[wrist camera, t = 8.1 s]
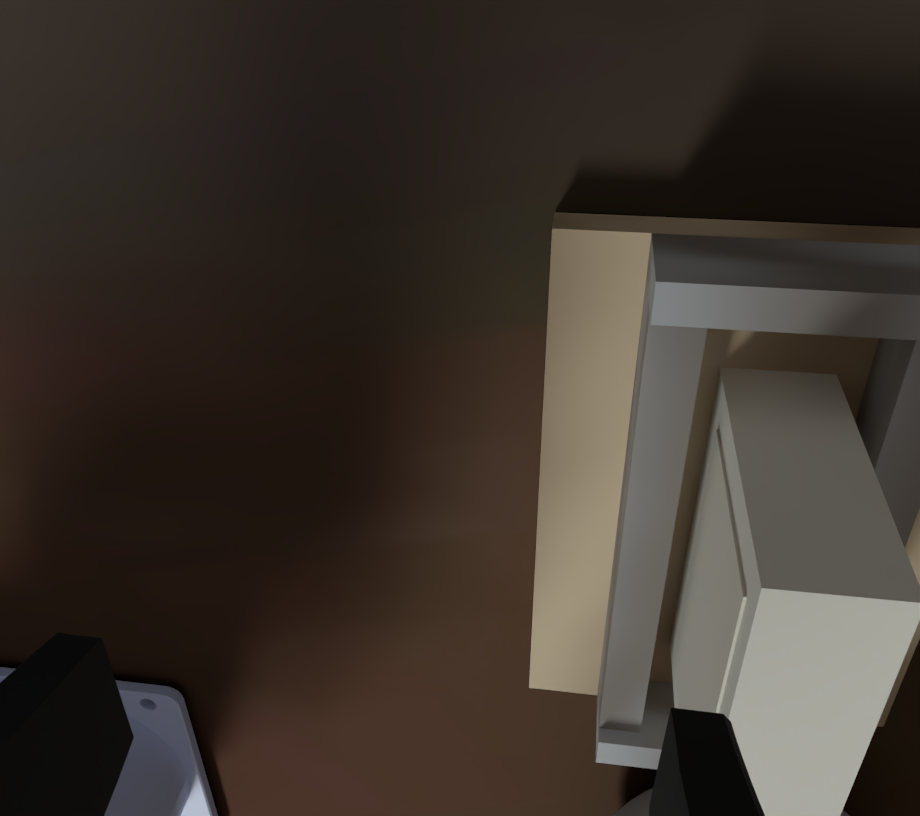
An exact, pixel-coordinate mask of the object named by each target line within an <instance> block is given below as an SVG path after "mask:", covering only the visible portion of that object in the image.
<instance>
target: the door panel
mask: <svg viewBox="0 0 920 816" xmlns="http://www.w3.org/2000/svg"><path fill="white" fill-rule="evenodd" d="M919 620H920V586H919V583H918V581H917V578H916V576H915V573H914V571H913V568H912V566H911V563H910V560H909V558H908V555H907V553H906V550H905V548H904V545H903V543H902V540H901V537H900V535H899V532H898V530H897V527H896V525H895V522H894V520H893V517H892V514H891V512H890V509H889V507H888V504H887V502H886V499H885V497H884V494H883V491H882V489H881V486H880V484H879V481H878V479H877V476H876V474H875V471H874V468H873V466H872V463H871V461H870V458H869V456H868V453H867V451H866V448H865V445H864V443H863V440H862V438H861V435H860V433H859V430H858V428H857V425H856V423H855V420H854V417H853V415H852V412H851V410H850V407H849V405H848V402H847V400H846V397H845V394H844V392H843V389H842V387H841V384H840V382H839V379H838V377H837V374H821V373H805V372H790V371H774V370H758V369H742V368H727V367H720V369H719V375H718V381H717V386H716V392H715V397H714V403H713V408H712V414H711V419H710V425H709V430H708V436H707V442H706V447H705V453H704V458H703V464H702V469H701V475H700V480H699V486H698V491H697V497H696V503H695V508H694V514H693V519H692V525H691V530H690V536H689V541H688V547H687V552H686V558H685V564H684V569H683V575H682V580H681V586H680V591H679V597H678V602H677V608H676V613H675V619H674V625H673V630H672V636H671V641H670V648H671V663H672V678H673V693H674V708H679V709H687V710H696V711H704V712H712V713H720V714H724V715H725V716H726V717H727V718H728V719H729V720H730V721H731V724H732V727H733V730H734V733H735V737H736V740H737V743H738V746H739V748H740V751H741V754H742V757H743V760H744V763H745V766H746V768H747V771H748V774H749V776H750V779H751V782H752V784H753V787H754V790H755V792H756V795H757V797H758V800H759V802H760V805H761V807H762V810H763V812H764V815H765V816H840V815H841V813H842V810H843V808H844V805H845V803H846V800H847V798H848V796H849V793H850V791H851V788H852V786H853V783H854V781H855V778H856V776H857V773H858V771H859V768H860V766H861V763H862V761H863V759H864V756H865V754H866V751H867V749H868V746H869V744H870V741H871V739H872V736H873V734H874V731H875V729H876V727H877V724H878V722H879V719H880V717H881V714H882V712H883V709H884V707H885V704H886V702H887V699H888V697H889V694H890V692H891V690H892V687H893V685H894V682H895V680H896V677H897V675H898V672H899V670H900V667H901V665H902V662H903V660H904V657H905V655H906V653H907V650H908V648H909V645H910V643H911V640H912V638H913V635H914V633H915V630H916V628H917V625H918V623H919Z"/></svg>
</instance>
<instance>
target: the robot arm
mask: <svg viewBox="0 0 920 816" xmlns="http://www.w3.org/2000/svg"><path fill="white" fill-rule="evenodd" d="M0 816H218V814H217V811H216V807H215V804H214V800H213V797H212V794H211V790H210V787H209V783H208V780H207V776H206V773H205V769H204V766H203V763H202V759H201V756H200V752H199V749H198V745H197V742H196V738H195V735H194V732H193V728H192V725H191V721H190V718H189V714H188V711H187V708H186V704H185V701H184V698H183V696H182V694H181V693H180V692H179V691H178V690H176V689H174V688H172V687H168V686H162V685H153V684H145V683H136V682H127V681H119V680H115V678H114V675H113V672H112V669H111V665H110V662H109V659H108V656H107V653H106V650H105V647H104V644H103V641H102V638H94V637H85V636H77V635H69V634H61V633H57V634H56V635H55V636H54V637H52V638H51V639H50V640H49V641H48V642H46V643H45V644H44V645H43V646H42V647H41V648H39V649H38V650H37V651H36V652H35V653H33V654H32V655H31V656H30V657H29V658H28V659H27V660H25V661H24V662H23V663H22V664H21V665H20V666H19V667H17V668H7V667H0ZM649 816H765V815H764V812H763V810H762V807H761V805H760V802H759V800H758V797H757V795H756V792H755V790H754V787H753V784H752V782H751V779H750V776H749V774H748V771H747V768H746V766H745V763H744V760H743V757H742V754H741V751H740V748H739V746H738V743H737V740H736V737H735V733H734V730H733V727H732V724H731V721H730V720H729V719H728V718H727V717H726V716H725V715H724V714H720V713H712V712H704V711H696V710H687V709H679V708H671V709H670V714H669V718H668V723H667V727H666V732H665V736H664V741H663V745H662V750H661V755H660V759H659V764H658V768H657V773H656V777H655V782H654V786H653V791H652V795H651V800H650V804H649Z"/></svg>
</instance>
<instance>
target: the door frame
mask: <svg viewBox="0 0 920 816" xmlns="http://www.w3.org/2000/svg"><path fill="white" fill-rule="evenodd" d="M720 367H727V368H742V369H758V370H774V371H790V372H805V373H821V374H837V377H838V379H839V382H840V384H841V387H842V389H843V392H844V394H845V397H846V400H847V402H848V405H849V407H850V410H851V412H852V415H853V417H854V420H855V423H856V425H857V428H858V430H859V433H860V435H861V438H862V440H863V443H864V445H865V448H866V451H867V453H868V456H869V458H870V461H871V463H872V466H873V468H874V471H875V474H876V476H877V479H878V481H879V484H880V486H881V489H882V491H883V494H884V497H885V499H886V502H887V504H888V507H889V509H890V512H891V514H892V517H893V520H894V522H895V525H896V527H897V530H898V532H899V535H900V537H901V540H902V543H903V545H904V548H905V550H906V553H907V555H908V558H909V560H910V563H911V566H912V568H913V571H914V573H915V576H916V578H917V581H918V583H919V586H920V228H905V227H882V226H859V225H836V224H813V223H790V222H767V221H744V220H721V219H698V218H675V217H652V216H629V215H606V214H582V213H559V212H555V213H554V219H553V226H552V241H551V261H550V281H549V301H548V321H547V341H546V361H545V380H544V400H543V420H542V440H541V460H540V480H539V500H538V520H537V540H536V560H535V579H534V599H533V619H532V639H531V659H530V679H529V688H537V689H546V690H555V691H564V692H573V693H582V694H591V695H597V730H596V762H598V763H606V764H615V765H623V766H631V767H640V768H648V769H656V770H657V768H658V764H659V759H660V755H661V750H662V745H663V741H664V736H665V732H666V727H667V723H668V718H669V714H670V709H671V708H674V693H673V678H672V663H671V648H670V641H671V636H672V630H673V625H674V619H675V613H676V608H677V602H678V597H679V591H680V586H681V580H682V575H683V569H684V564H685V558H686V552H687V547H688V541H689V536H690V530H691V525H692V519H693V514H694V508H695V503H696V497H697V491H698V486H699V480H700V475H701V469H702V464H703V458H704V453H705V447H706V442H707V436H708V430H709V425H710V419H711V414H712V408H713V403H714V397H715V392H716V386H717V381H718V375H719V369H720ZM919 639H920V620H919V623H918V625H917V628H916V630H915V633H914V635H913V638H912V640H911V643H910V645H909V648H908V650H907V653H906V655H905V657H904V660H903V662H902V665H901V667H900V670H899V672H898V675H897V677H896V680H895V682H894V685H893V687H892V690H891V692H890V694H889V697H888V699H887V702H886V704H885V707H884V709H883V712H882V714H881V717H880V719H879V722H878V724H877V726H880V727H883V726H884V724H885V721H886V719H887V717H888V714H889V712H890V709H891V707H892V705H893V702H894V700H895V697H896V695H897V692H898V690H899V688H900V685H901V683H902V680H903V678H904V675H905V673H906V671H907V668H908V666H909V663H910V661H911V658H912V656H913V654H914V651H915V649H916V646H917V644H918V642H919Z"/></svg>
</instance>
